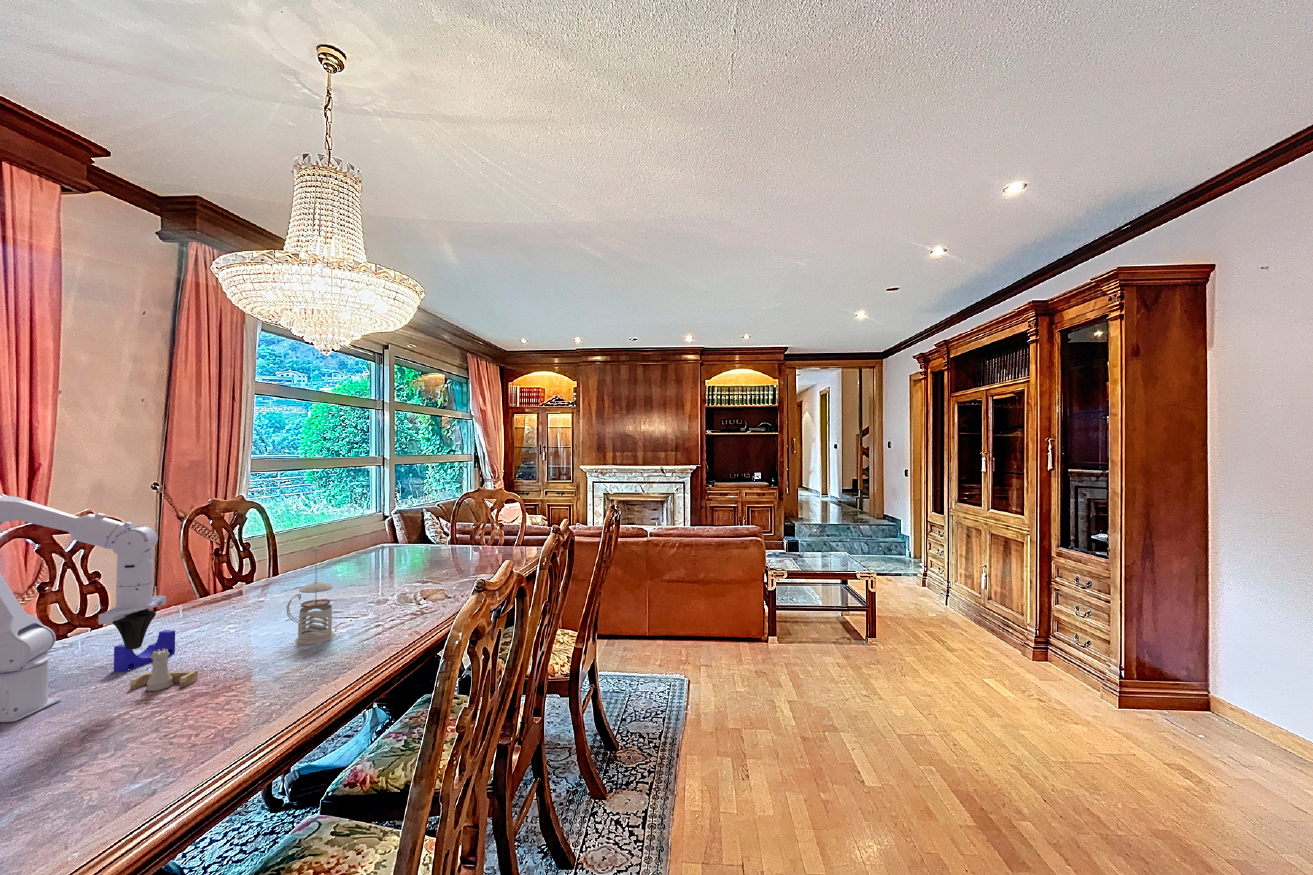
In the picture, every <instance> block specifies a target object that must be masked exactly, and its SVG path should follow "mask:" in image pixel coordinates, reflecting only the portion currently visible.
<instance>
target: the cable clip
mask: <svg viewBox="0 0 1313 875" xmlns="http://www.w3.org/2000/svg"><path fill="white" fill-rule="evenodd" d="M156 639H157V640H156V642H155V643H152V644H149V645H148V646H147V647H146V648H145V649H144V650H142V652H140V653H138V654H136V653H135V652H134V649H126V648H125V645H124V643H123V644H117V645H115V646H113V672H115V673H117V672H119V673H125V672H126V673H127V672H129V671H131V670H130V669H132V670H133V669H137V668H139V667H138V666H140V667H142V666H145V665H147V664H149V663H152V662H153V659H151V658H150V657H151V655H152V654H153V651H156V652H157V650H159V649H160V651H162V649H165V650H166V649H168V652H169V653H170V654H169V656H172V655H174V654H173V653H175V654H176V630H173V629H171V630H169V629H164V630H161V631H158V637H157V638H156ZM144 664H145V665H144ZM136 667H137V668H136ZM128 669H129V670H128Z"/></svg>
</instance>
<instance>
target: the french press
mask: <svg viewBox="0 0 1313 875" xmlns="http://www.w3.org/2000/svg"><path fill="white" fill-rule="evenodd" d="M313 552H315V581H313V582H309V583H307V584H305V585H304V586H302V587H300V588H299V589H298V591H299V593H297V594H295V595H294V596H293V597H291V599H289V601H288V603H287V606H286V615H287V617H288V618H289V620H291V621H292V622H295V623H297V624H298V626H297V628H298V630H297V631H298V632H297V633H298V635H297V637H296V639H294V643H295V642H296V643H295V644H299V645H312V644H319V643H323V642H326V641H330V640H331V639H334V638H335V637H336V636H337V635H336V633H335V632H334V631H333V628H332V627H333V626H332V625H333V624H332V622H333V620H332V619H333V615H332V614H333V612H332V611H333V606H332V605H331V599H328V598H327V599H326V598H323V599H322V598H320V599H319V598H318V599H317V596H314V598H315V599H310V600H307V601H303V602H302V603H300V607H301V608H300V609H299V619H297V618H295V617H294V616H292V614H291V612H290V605H291V602H292V600H293V599H295V598H297V597H298V600H299V601H300V600H301V599H302V594H311V593H312V594H316V593H321V592H327V591H330V590H332V589H333V587H334V585H332V584H330V583H328V582H324V581H317V580H318V578H317V567H318V565H317V561H318V560H317V558H318V557H317V556H318V555H317V554H318V552H321V548H320V547H319V546H315V547H313V548H312V553H313ZM301 593H302V594H301ZM314 609H316V610H314ZM312 610H313V611H312ZM319 619H321V620H319ZM315 623H316V624H315ZM317 623H318V624H317ZM321 624H322V625H321ZM329 639H330V640H329ZM318 642H319V643H318Z"/></svg>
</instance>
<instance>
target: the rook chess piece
mask: <svg viewBox="0 0 1313 875" xmlns="http://www.w3.org/2000/svg"><path fill="white" fill-rule="evenodd" d="M169 654H170V653H169V652H168V649H166V650H165V649H162V651H160V649H159V650H157V652H156V651H153V654H152V655H151V657H150V658H151V659H153V662H151V666H152V669H151V670H152V671H151V672H152V674H151V677H150V678H149V680H148V682H147V683H146V685H147V686H146V688H145V689H146V690H147V691H148V692H158V691H163V690H166V689H168V688H170V687H172V685H173V684H174V682H172V679H173V678H172V676H170V673H169V672H170V671H169V667H168V662H169V660H168V657H169V656H170V655H169Z"/></svg>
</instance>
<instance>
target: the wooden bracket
mask: <svg viewBox="0 0 1313 875" xmlns="http://www.w3.org/2000/svg"><path fill="white" fill-rule="evenodd" d="M169 673H170V676H172V678H173V679H172V682H173V683H179V688H185V687H188V686H189V685H190V684H192V683H194V682H196V681H198V680H199V671H198V670H183V671H177V670H176V671H169ZM151 674H152V671H150V672H143V673H142V674H140V675H137V676H136V677H133V678H132V679H130V680H129V681H130V684H129V685H130V686H129V688H130V690H136V689H138V688H140V687H142V686H144V685H145V684H146V685H147V682H148V680H149V678H150V677H151Z"/></svg>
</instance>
